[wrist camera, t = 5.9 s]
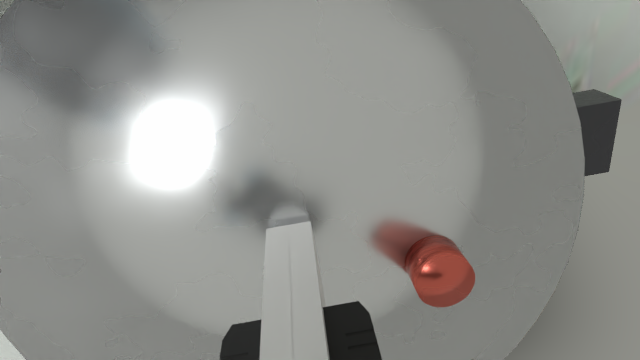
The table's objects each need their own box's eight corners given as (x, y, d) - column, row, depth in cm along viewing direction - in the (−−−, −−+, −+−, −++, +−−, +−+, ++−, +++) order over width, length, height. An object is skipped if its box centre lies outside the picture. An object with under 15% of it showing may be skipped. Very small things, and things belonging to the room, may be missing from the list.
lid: (152, 551, 23) (137, 617, 20) (-170, -33, 12) (-287, -41, 9) (540, 476, 23) (570, 531, 21) (588, -159, 12) (666, -199, 10)
